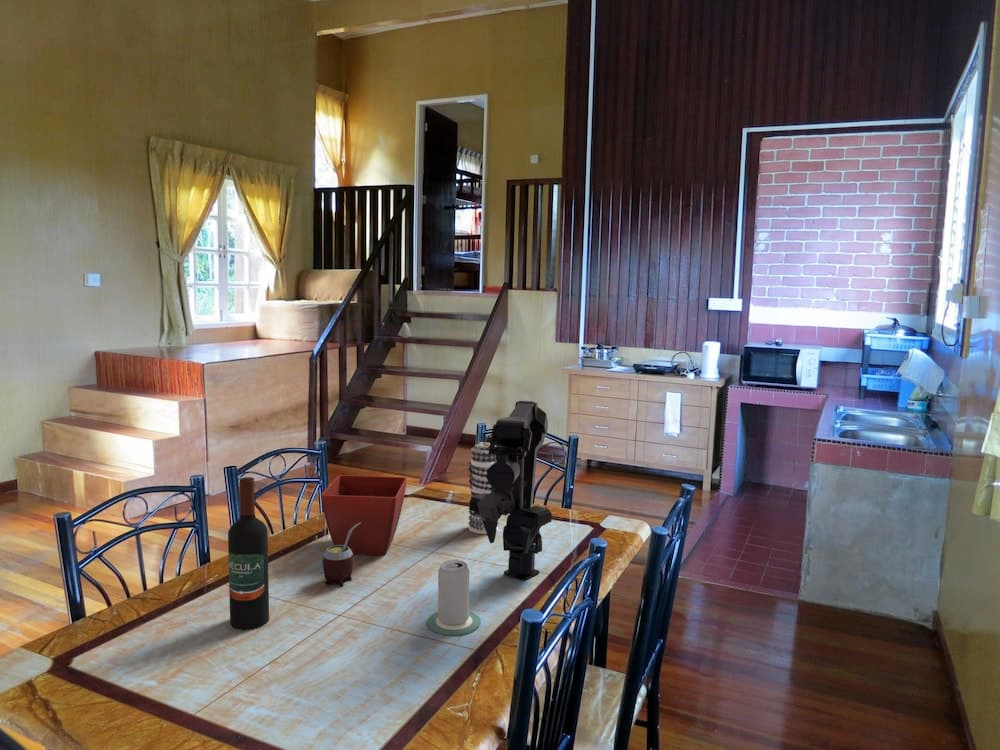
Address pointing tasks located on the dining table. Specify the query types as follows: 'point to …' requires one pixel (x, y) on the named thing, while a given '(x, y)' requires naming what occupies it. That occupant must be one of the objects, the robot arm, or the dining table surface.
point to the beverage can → (453, 592)
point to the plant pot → (364, 511)
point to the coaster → (456, 630)
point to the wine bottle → (248, 564)
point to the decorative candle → (479, 480)
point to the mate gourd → (338, 562)
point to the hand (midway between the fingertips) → (508, 547)
